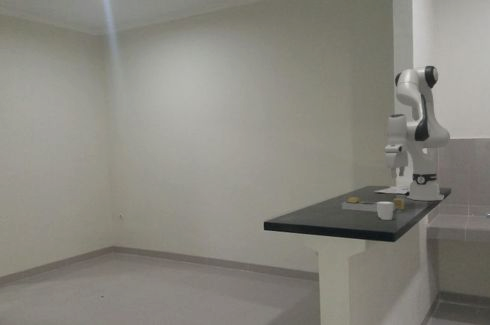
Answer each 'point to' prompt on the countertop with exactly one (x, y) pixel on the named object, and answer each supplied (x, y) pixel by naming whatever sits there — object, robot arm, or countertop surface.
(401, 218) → the countertop surface
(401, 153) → the robot arm
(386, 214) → the white cup
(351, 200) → the nut seated
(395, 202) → the tan yellow block
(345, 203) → the rail
